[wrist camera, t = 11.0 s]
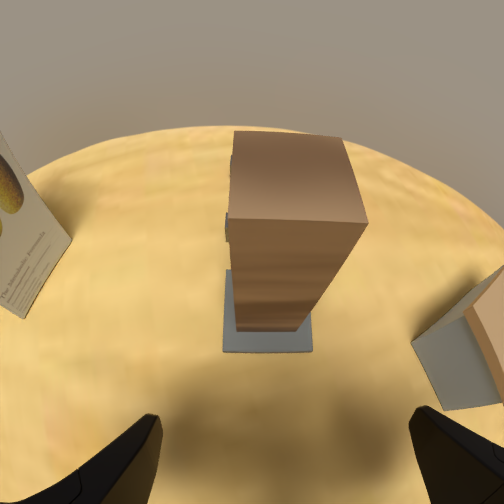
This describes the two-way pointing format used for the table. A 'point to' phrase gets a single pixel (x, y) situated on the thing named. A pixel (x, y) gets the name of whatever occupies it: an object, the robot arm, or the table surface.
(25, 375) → the table surface
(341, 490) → the table surface
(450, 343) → the toolbox
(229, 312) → the pad
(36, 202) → the supplement box
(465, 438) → the robot arm
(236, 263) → the brown block
